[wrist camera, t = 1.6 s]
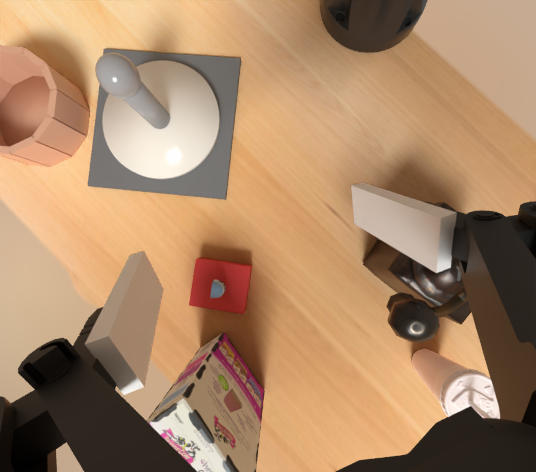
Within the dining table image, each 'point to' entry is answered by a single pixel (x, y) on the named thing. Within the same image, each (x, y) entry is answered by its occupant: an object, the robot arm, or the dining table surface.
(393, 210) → the robot arm
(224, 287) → the red rectangular block
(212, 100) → the lid
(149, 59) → the mat
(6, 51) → the bowl
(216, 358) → the candy bar box
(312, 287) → the dining table surface
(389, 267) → the coffee grinder
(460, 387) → the smoothie
